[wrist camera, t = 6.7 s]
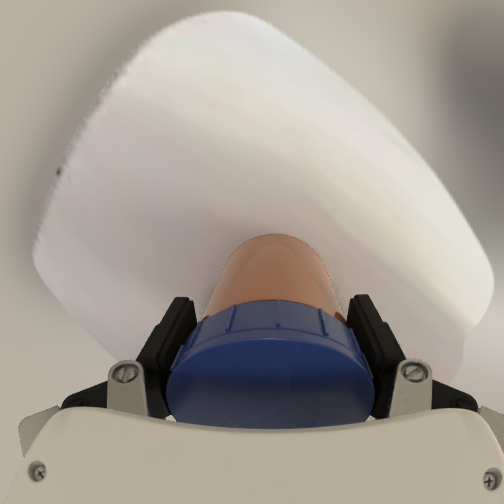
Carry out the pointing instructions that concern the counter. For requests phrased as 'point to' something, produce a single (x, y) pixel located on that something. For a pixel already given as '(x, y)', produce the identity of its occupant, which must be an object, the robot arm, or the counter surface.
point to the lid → (270, 370)
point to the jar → (275, 277)
